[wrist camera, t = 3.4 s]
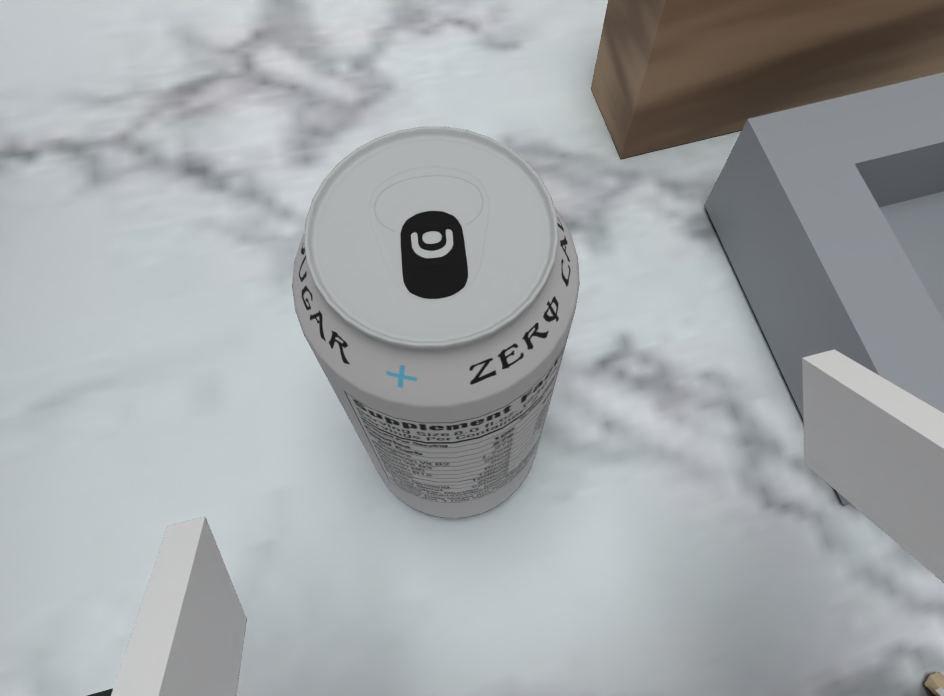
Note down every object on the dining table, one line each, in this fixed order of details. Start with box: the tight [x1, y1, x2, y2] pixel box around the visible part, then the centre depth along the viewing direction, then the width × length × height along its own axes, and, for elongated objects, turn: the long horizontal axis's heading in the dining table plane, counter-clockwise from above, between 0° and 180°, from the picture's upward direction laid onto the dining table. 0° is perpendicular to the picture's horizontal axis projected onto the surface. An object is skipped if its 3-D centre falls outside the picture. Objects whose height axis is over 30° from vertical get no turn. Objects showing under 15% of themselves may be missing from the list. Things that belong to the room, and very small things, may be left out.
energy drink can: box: [292, 127, 580, 518], centre depth 21 cm, size 6×6×15 cm
